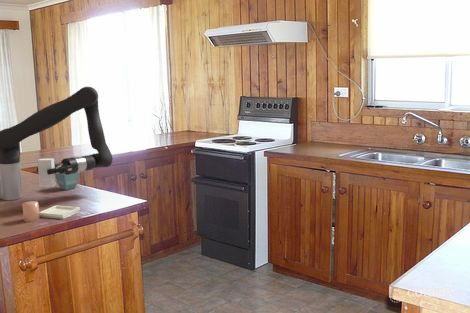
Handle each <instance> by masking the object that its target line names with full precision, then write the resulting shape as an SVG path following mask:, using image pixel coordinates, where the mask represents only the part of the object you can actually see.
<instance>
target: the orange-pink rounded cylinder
mask: <svg viewBox="0 0 470 313" xmlns="http://www.w3.org/2000/svg"><path fill="white" fill-rule="evenodd" d="M39 212H40V205H39V202H38V201H36V200H35V201H34V200H32V201H24V202H22V214H23V215H22V216H23V221H24V222H26V223H30V222H31V223H32V222H37V221H39V220H40V219H41V217H39Z"/></svg>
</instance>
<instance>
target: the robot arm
mask: <svg viewBox="0 0 470 313" xmlns="http://www.w3.org/2000/svg"><path fill="white" fill-rule="evenodd" d="M80 110H84V113H85V117H86V122H87V131H88V138H89V142H90V144H91V145H90V146H91V148H92V149H93V150H96V151H97V152H96V153H91V154H88V155H82V156H81V155H80V156H71V157H66V158H63V159H62V160H61V162H56V163H54V165H55V168H53V169H48V170H47V174H55V173H56V174H58V173H60V174H63V173H64V174H66V175H69V174H74V173H79V174H80V173H82V172H85V171H90V170H93V169H98V168H109V167H110V166H111V165H112V164H113V156H112V155H113V154H112V153H111V150H110V147H108V144H107V141H106V137H105V133H104V129H103V125H102V121H101V120H102V119H101V116H100V112H99V94H98V91H97V90H96V89H95V88H94V87H92V86H84V87H82V88H80V89H78V91H76V92H74V93H73V94H72V95H70V96H68V97H67V98H65V99H62V100H59V101H57V102H54V103H52V104H50V105H47V106H45V107H43V108H41V109H39V110H38V111H36V112H34V113H33V114H32V115H30V116H28V117H27V118H26V119H24V120H22V121H21V122H19V123H16V124H15V125H12V126H10V127H7V128H4V129H1V130H0V199H1V200H3V201H13V200H14V201H15V200H19V199H22V198H24V195H23V182H22V169H21V144H20V143H21V142H22V141H24V140H25V139H27V138H29V137H31V136H34V135H36V134H39V133H41V132H43V131H45V130H49V129H50V128H52V127H54V126H55V125H58V124H59V123H60V122H63V121H64V120H66V119H67V118H68V117H69V116H71V115H72V114H74V113H76V112H78V111H80ZM36 172H37V173H38V166H37V167H36Z"/></svg>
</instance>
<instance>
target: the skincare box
mask: <svg viewBox="0 0 470 313" xmlns="http://www.w3.org/2000/svg"><path fill="white" fill-rule="evenodd" d="M36 162H37V167H38V172H37V173H38V185H39V186H38V187H41V188H44V187H47V188H49V187H55V186H56V184H57V180H56V175H55V174H47V170H48V169H53V168H55V165H54V164H55V158H40V159H37V161H36Z"/></svg>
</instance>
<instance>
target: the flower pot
mask: <svg viewBox="0 0 470 313" xmlns="http://www.w3.org/2000/svg"><path fill="white" fill-rule="evenodd" d="M79 177H80V172H79V173H74V174H69V175H66V174H64V173H63V174H60V173H58V174H56V173H55V179H56V184H58V187H59V188H60V189H61V190H65V191H68V190H73V189H76V187H77V185H78V183H79Z"/></svg>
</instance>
